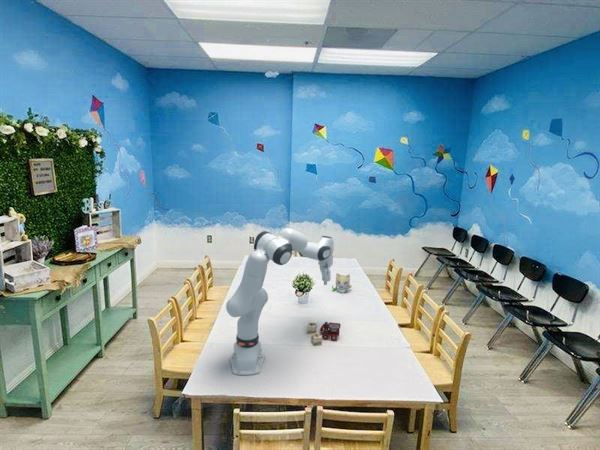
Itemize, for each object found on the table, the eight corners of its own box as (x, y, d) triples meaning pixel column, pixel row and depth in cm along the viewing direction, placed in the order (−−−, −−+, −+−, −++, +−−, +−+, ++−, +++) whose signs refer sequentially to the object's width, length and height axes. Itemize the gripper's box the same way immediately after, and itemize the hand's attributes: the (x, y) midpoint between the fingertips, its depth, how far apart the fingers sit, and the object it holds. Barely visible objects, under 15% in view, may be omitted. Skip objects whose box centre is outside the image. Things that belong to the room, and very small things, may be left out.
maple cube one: (321, 345, 224) (322, 337, 223) (313, 345, 223) (313, 338, 222) (318, 340, 229) (319, 332, 228) (311, 341, 228) (311, 333, 226)
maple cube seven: (315, 334, 236) (315, 326, 234) (307, 333, 236) (307, 326, 235) (316, 330, 240) (316, 323, 239) (308, 329, 241) (308, 322, 240)
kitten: (331, 293, 297) (332, 275, 294) (333, 288, 307) (334, 270, 303) (350, 295, 294) (351, 277, 290) (351, 290, 303) (352, 272, 300)
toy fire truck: (320, 333, 237) (321, 318, 235) (340, 336, 235) (341, 320, 232) (318, 339, 230) (319, 323, 228) (339, 341, 228) (340, 326, 226)
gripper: (333, 267, 223) (332, 289, 227) (328, 256, 243) (326, 276, 246) (322, 267, 223) (321, 289, 226) (318, 256, 243) (317, 276, 246)
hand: (324, 282), depth 236 cm, fingers open, 5 cm apart
